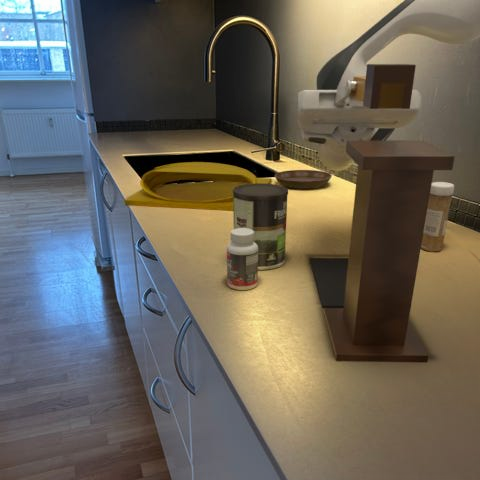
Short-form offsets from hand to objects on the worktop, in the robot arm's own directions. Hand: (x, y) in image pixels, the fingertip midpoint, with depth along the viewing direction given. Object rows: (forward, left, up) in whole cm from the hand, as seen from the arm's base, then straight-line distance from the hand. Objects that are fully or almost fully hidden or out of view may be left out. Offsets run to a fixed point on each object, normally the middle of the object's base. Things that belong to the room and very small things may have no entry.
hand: (366, 85), depth 78 cm
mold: (+32, -64, -32) cm, 79 cm away
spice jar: (-20, -16, -32) cm, 41 cm away
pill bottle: (+19, +4, -32) cm, 37 cm away
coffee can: (+16, -8, -32) cm, 37 cm away
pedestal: (0, +22, -32) cm, 39 cm away
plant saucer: (+2, -76, -32) cm, 83 cm away
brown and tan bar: (0, +6, -2) cm, 7 cm away
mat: (0, +2, -32) cm, 32 cm away
